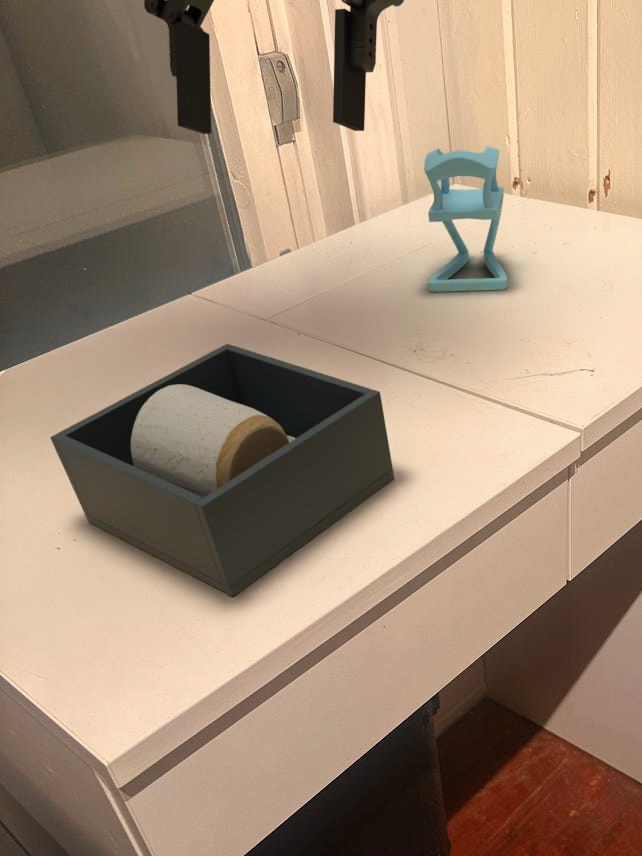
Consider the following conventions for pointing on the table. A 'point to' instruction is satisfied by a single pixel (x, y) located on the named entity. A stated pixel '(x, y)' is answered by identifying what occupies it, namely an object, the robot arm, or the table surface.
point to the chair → (466, 213)
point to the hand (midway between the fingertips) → (268, 129)
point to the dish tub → (246, 493)
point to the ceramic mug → (201, 438)
